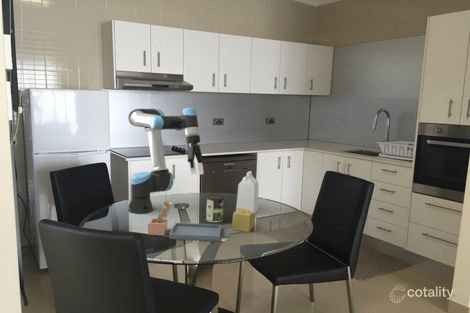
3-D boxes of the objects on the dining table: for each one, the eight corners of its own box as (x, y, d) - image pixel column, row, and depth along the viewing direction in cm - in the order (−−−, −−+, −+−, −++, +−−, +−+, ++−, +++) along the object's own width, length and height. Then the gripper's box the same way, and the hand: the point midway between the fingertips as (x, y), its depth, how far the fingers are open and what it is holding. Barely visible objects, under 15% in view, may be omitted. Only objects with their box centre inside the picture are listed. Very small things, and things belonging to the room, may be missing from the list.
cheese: (254, 227, 218) (255, 210, 217) (249, 233, 208) (250, 215, 207) (237, 224, 222) (238, 207, 220) (231, 230, 212) (232, 212, 210)
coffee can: (224, 217, 232) (225, 195, 230) (220, 223, 222) (221, 199, 220) (208, 216, 234) (209, 193, 232) (203, 221, 224) (204, 197, 222)
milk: (253, 215, 240) (255, 174, 236) (235, 212, 244) (237, 172, 240) (258, 210, 251) (260, 171, 247) (241, 207, 255) (243, 169, 251)
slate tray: (169, 238, 194) (169, 234, 194) (175, 226, 212) (175, 222, 212) (219, 241, 194) (219, 236, 194) (221, 229, 212) (221, 224, 212)
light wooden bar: (153, 230, 201) (154, 200, 199) (155, 228, 205) (156, 199, 202) (169, 232, 201) (170, 202, 199) (170, 229, 205) (172, 200, 202)
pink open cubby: (147, 234, 199) (148, 223, 198) (151, 228, 207) (151, 218, 207) (164, 235, 199) (164, 224, 198) (167, 229, 207) (167, 218, 207)
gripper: (191, 132, 197) (197, 172, 195) (205, 137, 221) (210, 173, 219) (178, 134, 198) (183, 175, 196) (193, 139, 223) (198, 175, 221)
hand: (197, 174), depth 208 cm, fingers open, 13 cm apart
